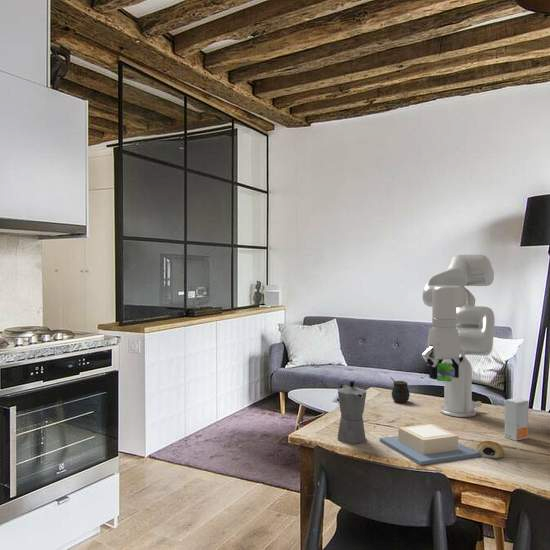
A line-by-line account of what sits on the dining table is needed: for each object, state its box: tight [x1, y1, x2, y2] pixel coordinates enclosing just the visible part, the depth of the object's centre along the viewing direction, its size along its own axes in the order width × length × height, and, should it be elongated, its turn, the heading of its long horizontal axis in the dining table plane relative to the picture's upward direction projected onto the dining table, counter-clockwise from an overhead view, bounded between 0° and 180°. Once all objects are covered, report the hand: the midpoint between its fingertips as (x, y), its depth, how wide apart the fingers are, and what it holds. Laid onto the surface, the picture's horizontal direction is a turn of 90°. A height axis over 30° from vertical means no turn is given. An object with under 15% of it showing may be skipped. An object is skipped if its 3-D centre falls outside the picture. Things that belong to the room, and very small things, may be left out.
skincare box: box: [504, 397, 529, 442], centre depth 152 cm, size 6×4×12 cm
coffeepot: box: [337, 380, 367, 444], centre depth 151 cm, size 15×9×18 cm, turn 16°
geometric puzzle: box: [436, 360, 455, 385], centre depth 157 cm, size 7×7×8 cm
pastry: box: [476, 440, 504, 460], centre depth 139 cm, size 9×7×4 cm
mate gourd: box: [390, 377, 410, 404], centre depth 196 cm, size 7×8×10 cm
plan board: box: [379, 423, 481, 466], centre depth 142 cm, size 20×20×5 cm
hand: (444, 377), depth 157 cm, fingers closed on geometric puzzle, 7 cm apart
